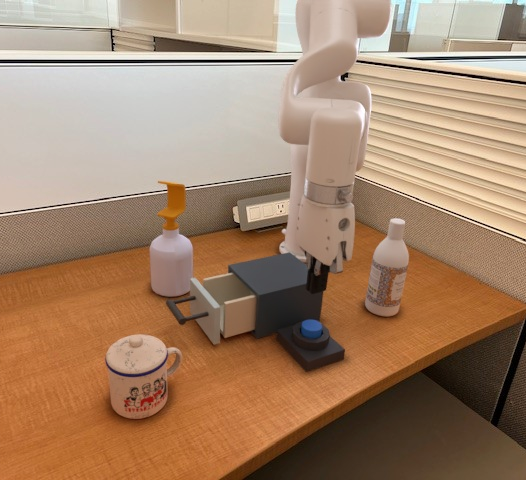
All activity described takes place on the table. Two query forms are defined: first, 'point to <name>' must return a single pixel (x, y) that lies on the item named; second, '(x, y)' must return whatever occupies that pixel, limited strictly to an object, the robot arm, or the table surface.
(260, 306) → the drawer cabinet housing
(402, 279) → the bath foam
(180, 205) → the soap bottle
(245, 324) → the drawer
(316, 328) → the button
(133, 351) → the teacup with lid
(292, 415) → the table surface
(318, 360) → the panel
